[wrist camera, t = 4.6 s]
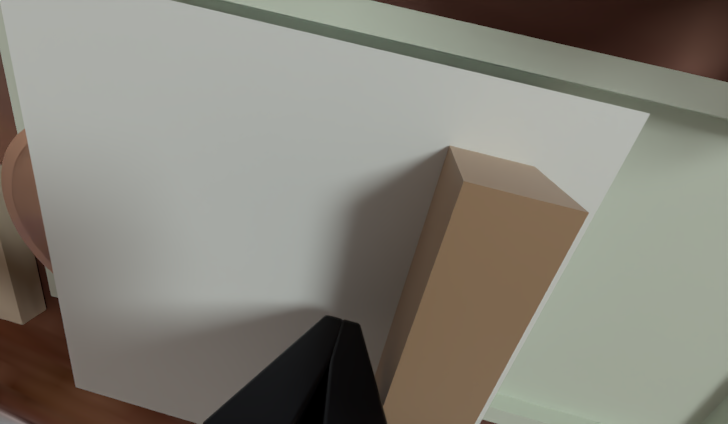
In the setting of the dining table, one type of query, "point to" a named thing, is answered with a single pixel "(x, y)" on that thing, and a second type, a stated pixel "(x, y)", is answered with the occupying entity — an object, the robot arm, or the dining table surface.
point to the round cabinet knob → (24, 198)
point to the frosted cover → (294, 202)
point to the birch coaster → (17, 273)
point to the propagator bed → (605, 232)
